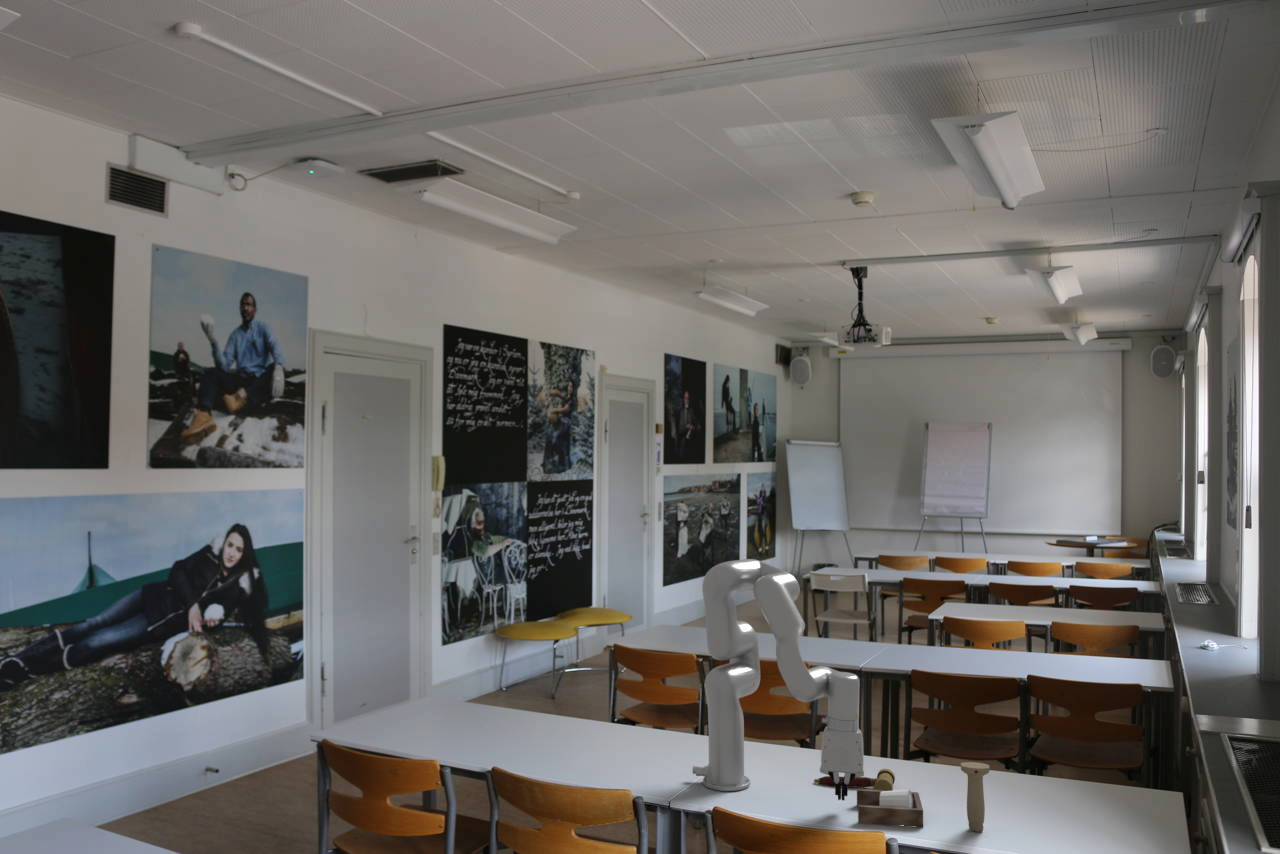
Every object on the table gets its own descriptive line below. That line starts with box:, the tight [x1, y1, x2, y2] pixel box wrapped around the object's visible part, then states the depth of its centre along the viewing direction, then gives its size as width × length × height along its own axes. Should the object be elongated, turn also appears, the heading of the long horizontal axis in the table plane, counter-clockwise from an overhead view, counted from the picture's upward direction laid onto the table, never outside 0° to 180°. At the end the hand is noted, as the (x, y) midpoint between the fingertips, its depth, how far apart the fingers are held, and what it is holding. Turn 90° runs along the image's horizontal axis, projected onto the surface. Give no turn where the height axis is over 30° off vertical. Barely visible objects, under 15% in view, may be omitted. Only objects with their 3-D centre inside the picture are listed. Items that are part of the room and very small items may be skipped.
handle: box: [960, 761, 991, 833], centre depth 234 cm, size 5×6×15 cm
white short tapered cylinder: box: [879, 789, 914, 808], centre depth 243 cm, size 7×7×7 cm
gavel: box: [813, 768, 896, 791], centre depth 266 cm, size 21×5×10 cm
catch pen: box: [856, 788, 924, 828], centre depth 244 cm, size 15×13×4 cm
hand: (841, 798), depth 246 cm, fingers closed
